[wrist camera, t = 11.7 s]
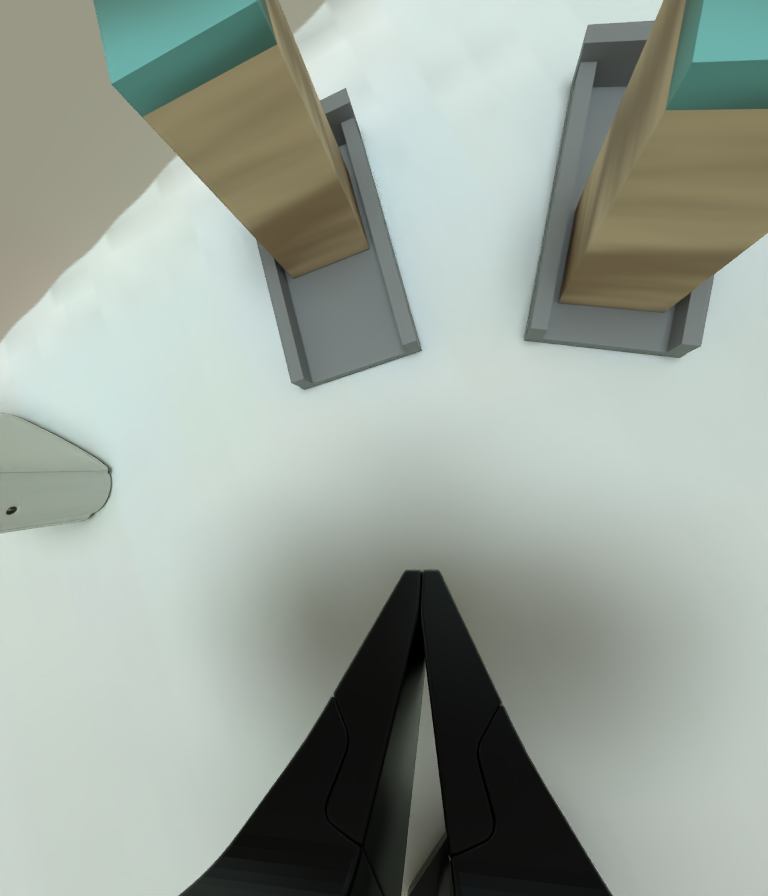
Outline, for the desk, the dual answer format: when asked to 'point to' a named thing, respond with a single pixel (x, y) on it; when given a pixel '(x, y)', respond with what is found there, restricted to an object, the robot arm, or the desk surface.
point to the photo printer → (46, 478)
